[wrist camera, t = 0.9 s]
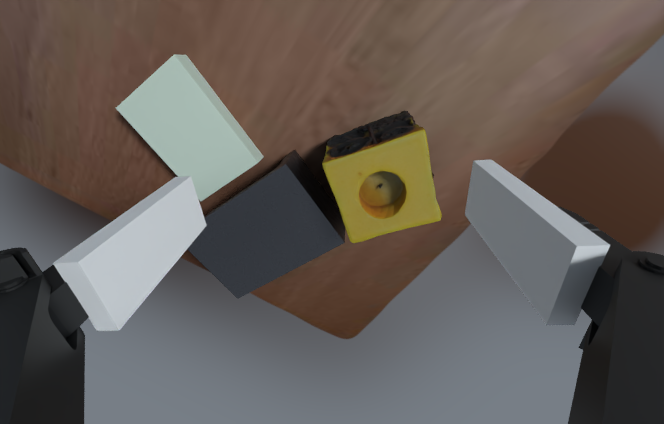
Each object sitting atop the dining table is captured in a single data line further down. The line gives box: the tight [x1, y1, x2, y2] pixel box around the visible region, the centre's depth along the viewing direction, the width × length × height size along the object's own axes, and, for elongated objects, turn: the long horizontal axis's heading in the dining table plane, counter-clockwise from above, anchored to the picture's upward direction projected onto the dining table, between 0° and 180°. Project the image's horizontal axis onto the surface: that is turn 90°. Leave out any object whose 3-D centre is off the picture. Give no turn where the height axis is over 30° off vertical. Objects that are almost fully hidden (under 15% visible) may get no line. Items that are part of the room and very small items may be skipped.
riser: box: [187, 150, 345, 298], centre depth 39 cm, size 12×18×6 cm, turn 124°
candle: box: [322, 111, 442, 243], centre depth 33 cm, size 10×10×10 cm
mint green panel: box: [116, 54, 263, 201], centre depth 36 cm, size 14×10×3 cm
